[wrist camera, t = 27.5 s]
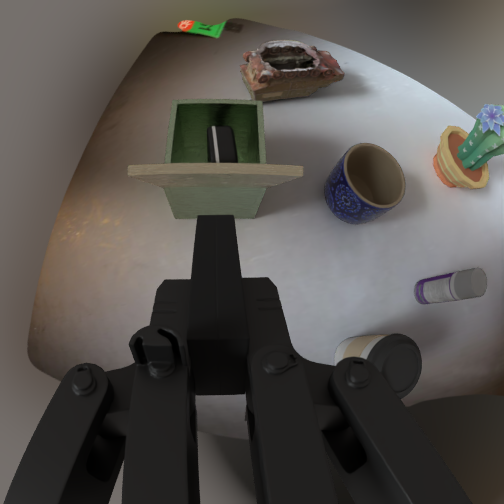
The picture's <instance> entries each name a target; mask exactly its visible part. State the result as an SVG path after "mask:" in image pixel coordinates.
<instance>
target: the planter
mask: <svg viewBox="0 0 504 504" xmlns="http://www.w3.org/2000/svg"><path fill="white" fill-rule="evenodd" d="M404 193H405V178H404V174H403V172H402V169H401V167H400V165H399V164H398V162H397V161H396V160H395V158H394V157H393V156H392V155H391V154H390V153H388V152H387V151H386V150H384V149H383V148H381V147H379V146H377V145H374V144H370V143H360V144H356V145H354V146H352V147H351V148H350V149H349V150H348V151H347V152H346V153H345V154H344V155H343V157H342V158H341V159H340V160H339V162H338V163H337V164H336V166H335V167H334V168H333V170H332V172H331V173H330V175H329V177H328V179H327V181H326V185H325V198H326V202H327V204H328V206H329V208H330V210H331V211H332V212H333V213H334V215H335V216H337V217H338V218H339V219H341V220H342V221H344V222H347V223H350V224H363V223H367V222H369V221H372V220H374V219H376V218H378V217H379V216H381V215H383V214H384V213H386V212H387V211H389V210H390V209H392V208H393V207H395V206H396V205H397V204H398V203H399V202H400V201H401V200H402V198H403V196H404Z"/></svg>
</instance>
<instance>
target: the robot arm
mask: <svg viewBox="0 0 504 504" xmlns="http://www.w3.org/2000/svg"><path fill="white" fill-rule="evenodd" d="M129 347H130V350H131V352H132V355H133V358H134V360H135V363H133V364H131V365H130V366H127V367H124V368H121V369H116V370H111V371H107V372H104V370H103V369H102V368H101V367H99V366H97V365H96V364H90V363H84V364H79V365H76V366H75V367H73V368H71V369H70V370H69V371H68V372H67V374H66V375H65V376H64V378H63V380H62V381H61V383H60V385H59V387H58V389H57V390H56V392H55V394H54V396H53V398H52V399H51V401H50V403H49V405H48V407H47V409H46V410H45V413H44V414H43V416H42V418H41V420H40V422H39V424H38V426H37V428H36V430H35V432H34V434H33V436H32V438H31V440H30V442H29V444H28V446H27V449H26V451H25V453H24V455H23V457H22V459H21V462H20V464H19V466H18V469H17V471H16V473H15V476H14V478H13V480H12V483H11V485H10V488H9V490H8V493H7V496H6V498H5V501H4V504H108V503H109V501H110V498H111V495H112V492H113V489H114V486H115V483H116V480H117V477H118V474H119V472H120V469H121V466H122V463H123V461H124V470H123V487H122V504H200V492H199V491H200V490H199V471H198V443H197V410H196V405H195V393H196V395H237V394H245V393H246V401H247V405H246V415H245V421H247V425H248V434H249V442H250V450H251V459H252V467H253V475H254V483H255V491H256V499H257V504H339V503H338V499H337V495H336V491H335V487H334V482H333V478H332V474H331V470H330V466H329V462H328V458H327V454H328V456H329V458H330V460H331V461H332V463H333V465H334V467H335V468H336V470H337V472H338V474H339V476H340V477H341V479H342V481H343V483H344V484H345V486H346V488H347V489H348V491H349V493H350V495H351V496H352V498H353V500H354V502H355V503H356V504H472V502H471V501H470V499H469V498H468V496H467V495H466V493H465V492H464V490H463V489H462V487H461V486H460V484H459V483H458V481H457V480H456V478H455V477H454V475H453V474H452V472H451V471H450V469H449V468H448V466H447V465H446V463H445V462H444V461H443V459H442V458H441V456H440V455H439V453H438V452H437V451H436V449H435V448H434V446H433V445H432V443H431V442H430V440H429V439H428V437H427V436H426V435H425V433H424V432H423V430H422V429H421V428H420V426H419V425H418V423H417V422H416V420H415V419H414V418H413V416H412V415H411V413H410V412H409V411H408V410H407V408H406V407H405V405H404V404H403V402H402V401H401V400H400V398H399V397H398V396H397V394H396V393H395V391H394V390H393V389H392V387H391V386H390V385H389V383H388V382H387V381H386V379H385V378H384V376H383V375H382V374H381V372H380V371H379V370H378V368H377V367H376V366H375V365H374V364H373V363H372V362H370V361H368V360H366V359H364V358H361V357H354V356H353V357H347V358H344V359H342V360H341V361H339V362H338V363H337V365H336V366H332V365H326V364H320V363H315V362H311V361H309V360H307V359H305V358H303V357H302V356H300V355H299V354H298V353H297V352H296V351H295V349H294V348H293V346H292V343H291V340H290V336H289V332H288V329H287V325H286V321H285V317H284V313H283V309H282V306H281V302H280V300H279V294H278V290H277V287H276V286H275V285H274V283H273V282H272V281H271V280H270V279H269V278H268V277H260V278H242V276H241V268H240V260H239V252H238V244H237V236H236V228H235V220H234V215H198V216H197V225H196V234H195V243H194V252H193V262H192V273H191V279H176V280H164V281H163V282H162V284H161V285H160V286H159V287H158V289H157V291H156V296H155V303H154V306H153V312H152V316H151V321H150V326H147V327H144V328H142V329H140V330H138V331H137V332H136V333H135V334H134V335H133V336H132V338H131V340H130V342H129ZM326 452H327V454H326Z"/></svg>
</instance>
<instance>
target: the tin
mask: <svg viewBox="0 0 504 504" xmlns="http://www.w3.org/2000/svg"><path fill="white" fill-rule="evenodd" d="M212 126H230V127H231V128H232V129H233V131H234V136H235V142H236V149H237V155H238V163H254V164H266V151H265V134H264V119H263V103H262V101H254V100H230V99H185V100H173V101H172V107H171V114H170V121H169V129H168V136H167V145H166V153H165V163H208V161H207V128H208V127H212ZM163 189H164V191H165V194H166V196H167V199H168V202H169V204H170V207H171V209H172V212H173V215H174V217H175V219H197V216H198V215H234V219H254V217H255V215H256V212H257V210H258V207H259V205H260V203H261V200H262V198H263V195H264V193H265V191H266V188H253V187H169V188H163Z"/></svg>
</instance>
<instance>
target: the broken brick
mask: <svg viewBox="0 0 504 504" xmlns="http://www.w3.org/2000/svg"><path fill="white" fill-rule="evenodd" d="M243 58H244V59H245V61H246V62H249V64H243V65H240V68H241V71H240V72H241V73H242V76H243V79H242V80H243V81H244V83H245V85H246V87H247V89H248V91H249V93H250V95H251V98H252V100H254V101H262V102H265V101H271V100H278V99H286V98H294V97H304V96H310V95H311V94H312V93H314V92H316V91H317V90H318V88H324V87H327V86H329V85H330V84H331V83H333V82H337V81H340V80H342V79H343V77H344V74H345V73H344V72H343V71H342V70H341V68H340V66H339V65H338V63H337V60H335V59H334V58H333V57H332V56H331V55H330V53H329V52H327V51H317V49H316V47H315V46H308V45H306V44H304V43H302V42H299V41H294V40H281V41H280V40H275V41H268V42H265V43H263V44H261V45H260V46H259V48H258V49H257V51H248V52H246V53H245V54H244V55H243Z"/></svg>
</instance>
